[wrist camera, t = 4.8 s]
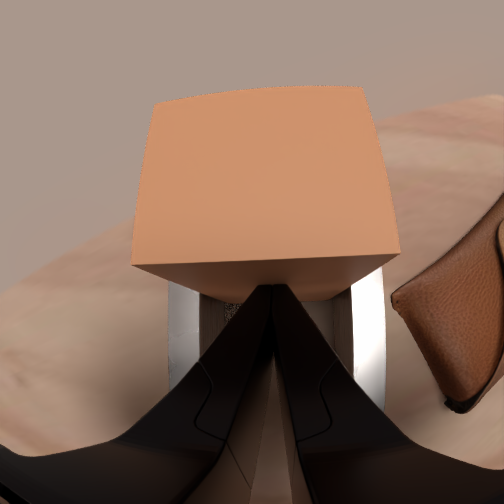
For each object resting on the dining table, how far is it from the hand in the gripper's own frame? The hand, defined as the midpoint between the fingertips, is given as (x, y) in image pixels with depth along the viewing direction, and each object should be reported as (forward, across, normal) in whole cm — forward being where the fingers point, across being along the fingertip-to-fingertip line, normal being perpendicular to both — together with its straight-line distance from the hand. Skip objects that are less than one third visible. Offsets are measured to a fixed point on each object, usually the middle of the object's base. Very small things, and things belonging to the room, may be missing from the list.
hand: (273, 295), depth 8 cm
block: (+6, 0, +3) cm, 7 cm away
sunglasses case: (+6, -15, +4) cm, 17 cm away
